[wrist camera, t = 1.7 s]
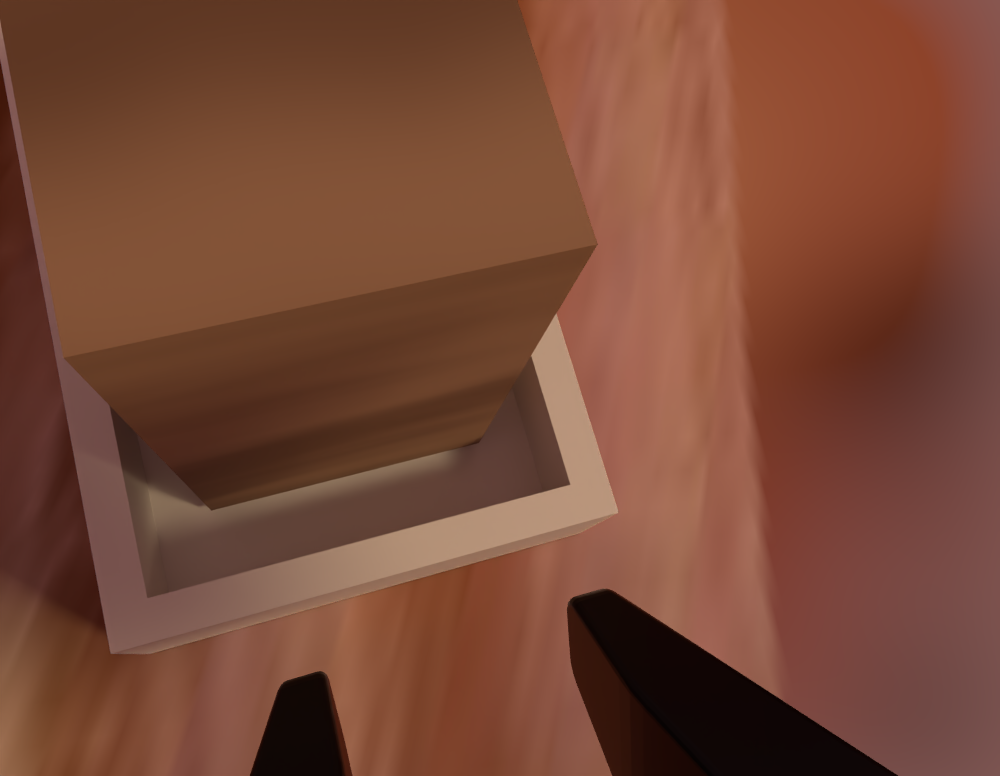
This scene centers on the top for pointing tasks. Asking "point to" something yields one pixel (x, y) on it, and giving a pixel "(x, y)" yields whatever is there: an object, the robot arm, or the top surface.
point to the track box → (318, 505)
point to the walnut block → (295, 223)
